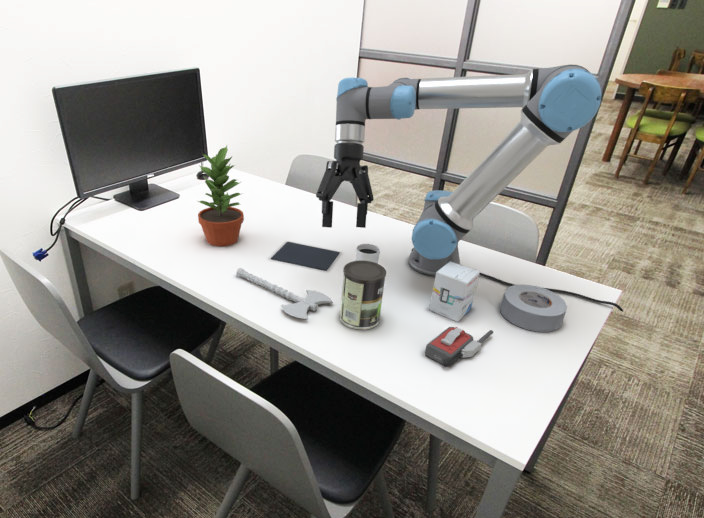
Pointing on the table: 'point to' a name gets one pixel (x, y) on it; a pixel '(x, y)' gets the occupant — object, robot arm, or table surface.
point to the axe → (290, 296)
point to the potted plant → (220, 204)
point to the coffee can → (362, 294)
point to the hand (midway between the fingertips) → (344, 227)
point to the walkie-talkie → (453, 345)
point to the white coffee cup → (367, 253)
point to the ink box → (454, 290)
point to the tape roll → (533, 308)
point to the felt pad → (306, 256)
